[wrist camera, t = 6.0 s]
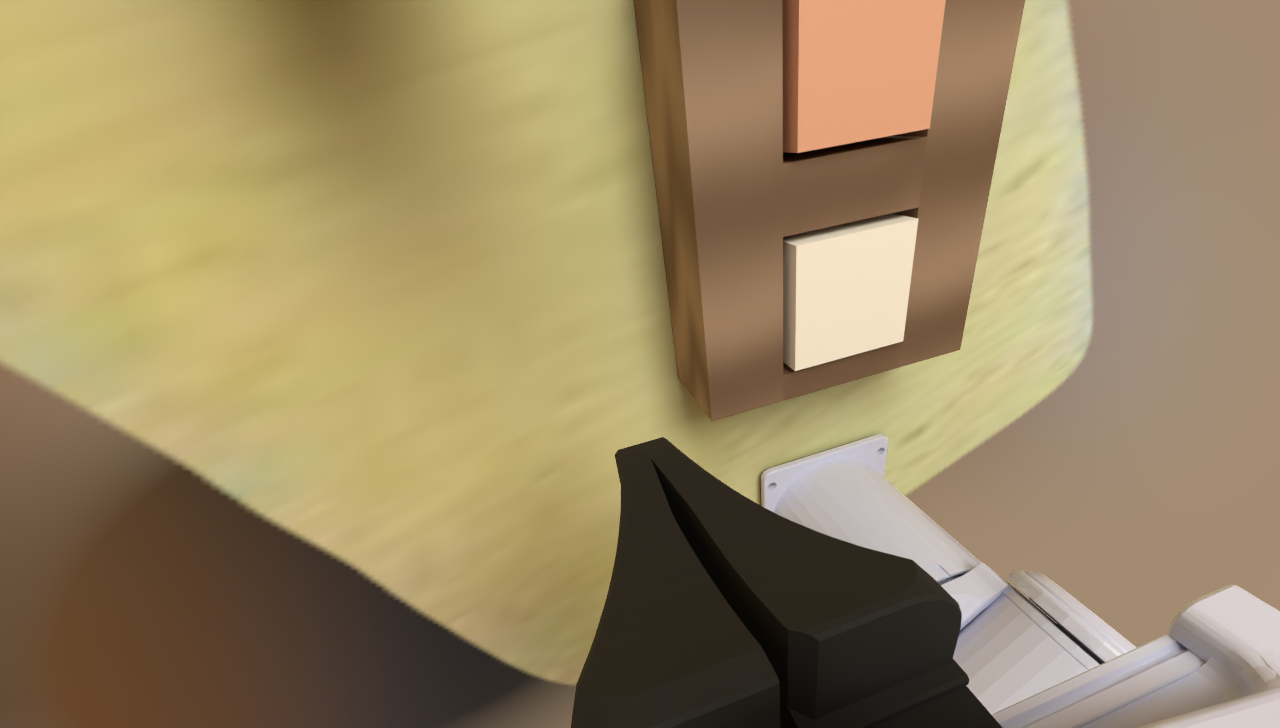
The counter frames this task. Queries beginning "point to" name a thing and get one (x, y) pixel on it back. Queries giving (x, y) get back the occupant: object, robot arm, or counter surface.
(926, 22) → the terracotta key
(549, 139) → the counter surface
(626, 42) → the counter surface
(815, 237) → the offwhite key
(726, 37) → the key console
